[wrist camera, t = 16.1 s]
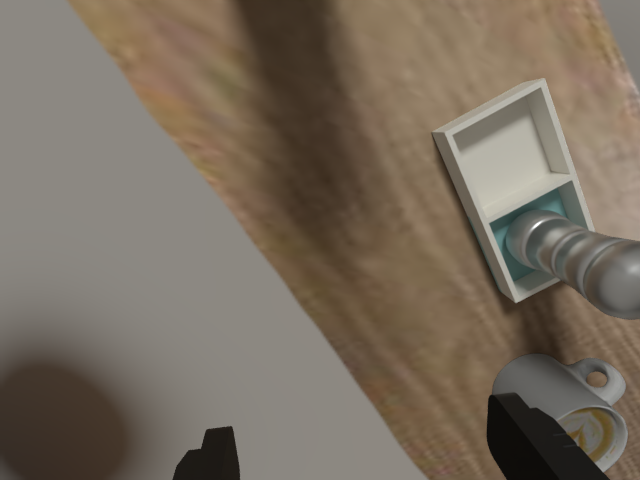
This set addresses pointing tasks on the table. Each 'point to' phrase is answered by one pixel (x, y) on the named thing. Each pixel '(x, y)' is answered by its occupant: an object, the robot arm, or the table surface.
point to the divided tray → (512, 176)
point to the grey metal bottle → (580, 260)
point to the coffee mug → (572, 401)
